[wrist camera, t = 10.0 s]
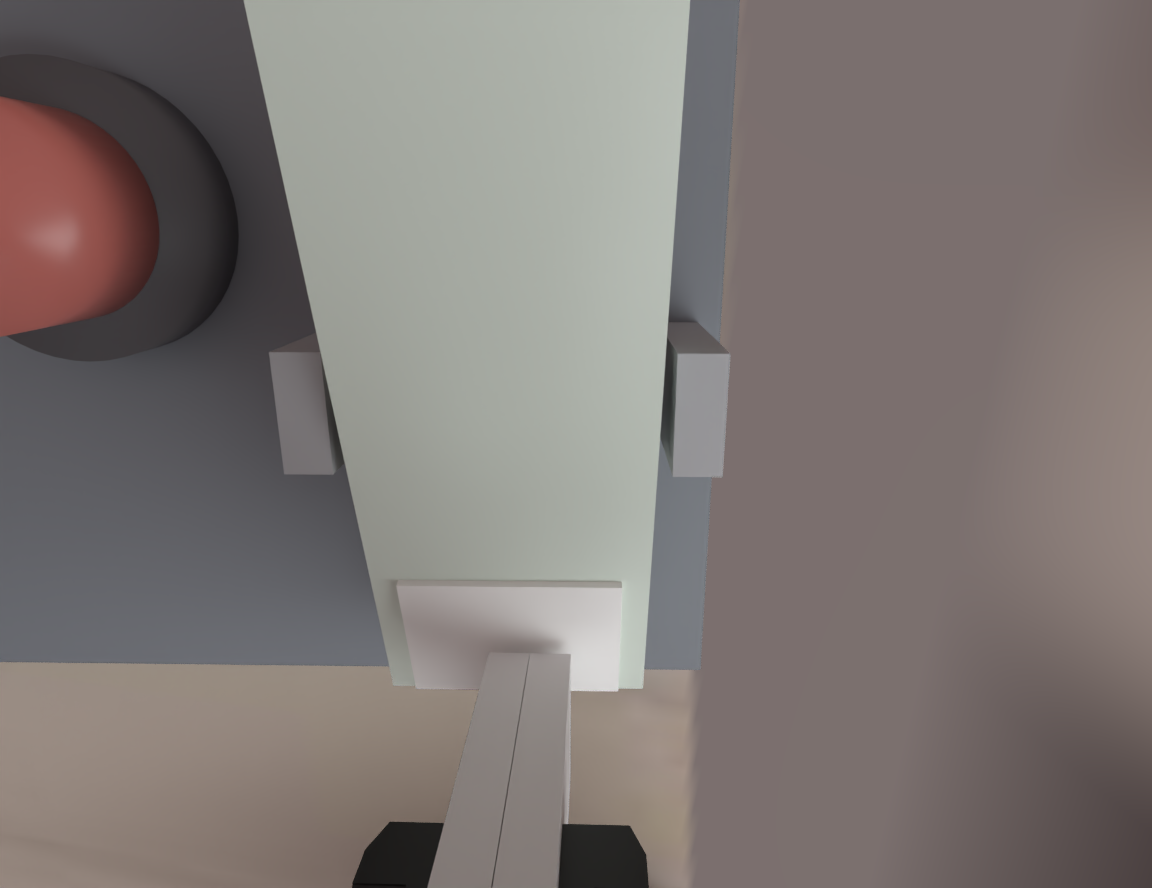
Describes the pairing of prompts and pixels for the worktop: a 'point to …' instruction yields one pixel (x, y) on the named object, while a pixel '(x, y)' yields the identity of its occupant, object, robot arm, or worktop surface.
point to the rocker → (489, 307)
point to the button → (68, 220)
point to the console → (264, 374)
